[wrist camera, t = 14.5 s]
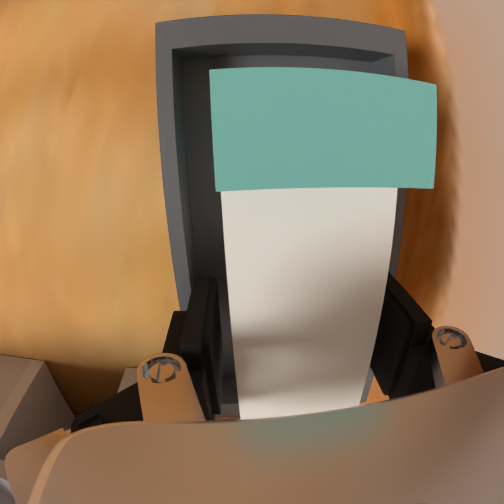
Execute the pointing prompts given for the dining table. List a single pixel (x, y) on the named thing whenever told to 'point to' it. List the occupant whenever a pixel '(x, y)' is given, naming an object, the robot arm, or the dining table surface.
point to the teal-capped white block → (312, 222)
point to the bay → (32, 407)
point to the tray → (200, 129)
